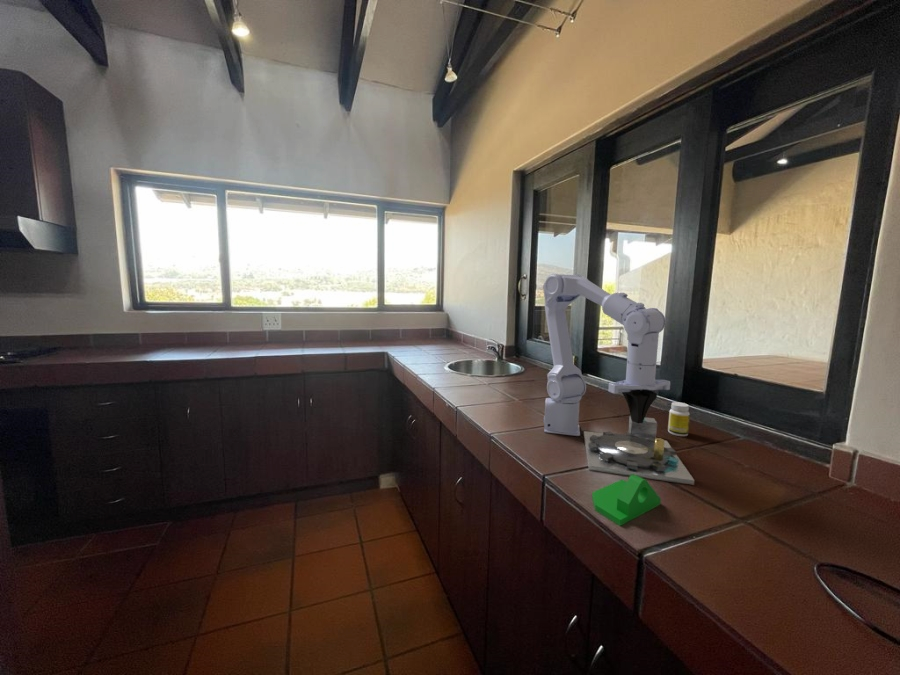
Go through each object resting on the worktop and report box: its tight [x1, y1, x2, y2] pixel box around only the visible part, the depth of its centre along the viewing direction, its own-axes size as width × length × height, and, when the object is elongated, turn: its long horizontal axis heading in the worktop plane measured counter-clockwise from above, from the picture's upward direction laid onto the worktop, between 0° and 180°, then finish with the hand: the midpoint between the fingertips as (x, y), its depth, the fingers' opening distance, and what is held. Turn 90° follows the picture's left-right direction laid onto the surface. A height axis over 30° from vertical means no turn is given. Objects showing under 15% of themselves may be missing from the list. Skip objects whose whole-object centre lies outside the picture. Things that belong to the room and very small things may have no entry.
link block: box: [627, 415, 658, 439], centre depth 94 cm, size 6×4×5 cm, turn 72°
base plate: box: [583, 431, 696, 486], centre depth 83 cm, size 20×20×1 cm
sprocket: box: [588, 431, 680, 471], centre depth 82 cm, size 19×19×5 cm
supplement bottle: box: [667, 401, 691, 437], centre depth 96 cm, size 5×5×8 cm
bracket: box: [591, 474, 662, 527], centre depth 64 cm, size 12×8×7 cm, turn 120°
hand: (637, 421), depth 78 cm, fingers closed
